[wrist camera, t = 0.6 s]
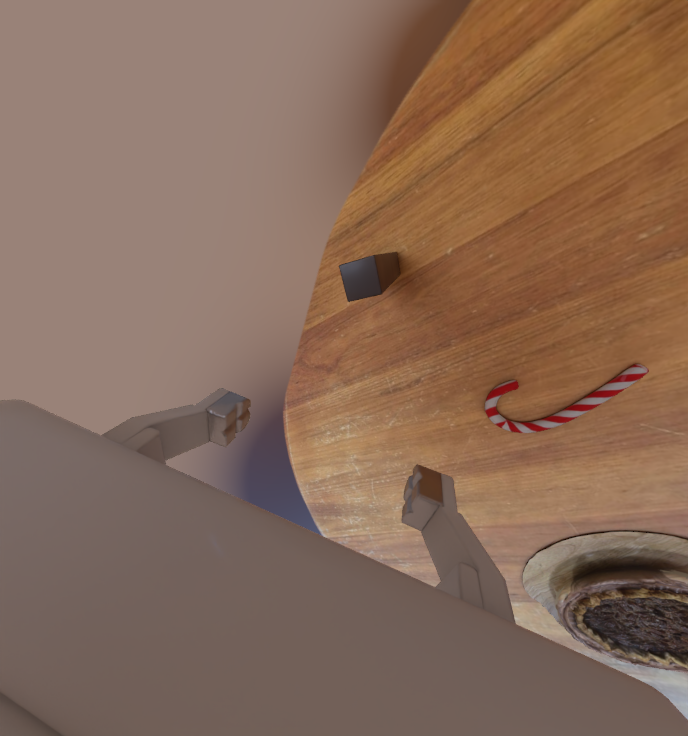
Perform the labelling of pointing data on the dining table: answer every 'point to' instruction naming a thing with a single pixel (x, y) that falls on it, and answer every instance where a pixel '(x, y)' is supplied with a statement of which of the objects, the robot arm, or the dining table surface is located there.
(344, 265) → the stick
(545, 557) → the pie
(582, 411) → the candy cane
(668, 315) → the dining table surface
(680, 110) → the dining table surface
